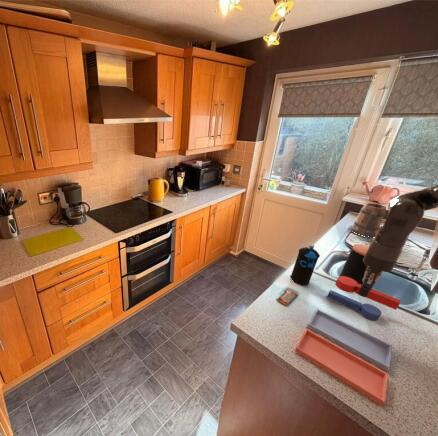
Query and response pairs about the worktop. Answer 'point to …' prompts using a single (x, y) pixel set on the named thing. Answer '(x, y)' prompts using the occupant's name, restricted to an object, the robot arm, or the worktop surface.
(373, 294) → the red spoon
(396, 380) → the worktop surface
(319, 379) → the worktop surface
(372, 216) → the tankard
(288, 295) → the chocolate bar
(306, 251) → the aerosol can
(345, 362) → the red tray
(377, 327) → the worktop surface
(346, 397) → the worktop surface
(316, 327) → the blue tray
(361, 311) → the blue spoon
